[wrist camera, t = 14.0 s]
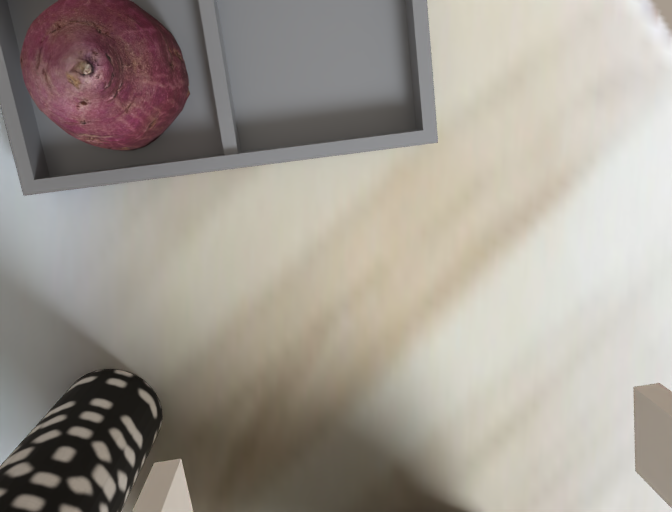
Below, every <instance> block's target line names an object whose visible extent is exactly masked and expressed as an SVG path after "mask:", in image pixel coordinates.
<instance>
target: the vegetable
mask: <svg viewBox="0 0 672 512" xmlns="http://www.w3.org/2000/svg"><path fill="white" fill-rule="evenodd" d="M20 64H21V69H22V74H23V79H24V82H25V86H26V88H27V90H28V92H29V94H30V96H31V98H32V99H33V101H34V102H35V104H36V105H37V107H38V108H39V110H40V111H42V112H43V113H44V114H45V115H46V116H47V117H48V118H49V119H50V120H51V121H53V122H54V123H55V124H56V125H58V126H59V127H60V128H61V129H62V130H64V131H65V132H66V133H68V134H69V135H71V136H73V137H74V138H76V139H78V140H80V141H83V142H85V143H87V144H90V145H93V146H97V147H100V148H105V149H112V150H119V151H128V150H135V149H139V148H143V147H145V146H147V145H149V144H150V143H152V142H153V141H155V140H156V139H157V138H158V137H159V136H160V135H161V134H162V133H164V132H165V130H166V129H167V128H168V127H169V126H170V125H171V124H172V123H173V121H174V120H175V119H176V118H177V116H178V115H179V114H180V113H181V112H182V110H183V108H184V105H185V103H186V101H187V99H188V97H189V95H190V91H189V88H188V87H189V78H188V73H187V70H186V65H185V61H184V59H183V55H182V52H181V49H180V47H179V45H178V43H177V42H176V40H175V38H174V36H173V35H172V34H171V33H170V31H168V30H167V29H166V28H165V27H164V26H163V24H161V23H160V22H159V21H158V20H157V19H155V18H154V17H153V16H151V15H150V14H149V13H147V12H146V11H144V10H143V9H142V8H140V7H139V6H138V5H137V4H135V3H134V2H132V1H130V0H58V1H57V2H56V3H54V4H52V5H51V6H49V7H48V8H47V9H45V10H44V11H43V12H42V13H41V14H40V15H39V16H38V17H37V18H36V19H35V20H34V21H33V22H32V24H31V25H30V27H29V29H28V30H27V33H26V36H25V39H24V42H23V46H22V50H21V55H20Z"/></svg>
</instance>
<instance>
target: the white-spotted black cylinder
mask: <svg viewBox="0 0 672 512" xmlns="http://www.w3.org/2000/svg"><path fill="white" fill-rule="evenodd" d="M161 423H162V409H161V405H160V401H159V399H158V397H157V395H156V393H155V392H154V391H153V389H152V388H151V387H150V386H149V385H148V384H147V383H146V382H145V381H143V380H142V379H141V378H139V377H137V376H135V375H134V374H131V373H128V372H126V371H121V370H116V369H104V370H98V371H94V372H92V373H89V374H86V375H85V376H83V377H82V378H80V379H78V380H77V381H76V382H75V383H74V384H73V385H72V386H71V387H70V389H69V390H68V391H67V392H66V393H65V394H64V395H63V396H62V397H61V399H60V400H59V401H58V402H57V403H56V404H55V405H54V406H53V408H52V409H51V410H50V411H49V412H48V413H47V414H46V415H45V416H44V418H43V419H42V420H41V421H40V422H39V423H38V424H37V425H36V427H35V428H34V429H33V430H32V431H31V432H30V433H29V434H28V435H27V437H26V438H25V439H24V440H23V441H22V442H21V443H20V444H19V446H18V447H17V448H16V449H15V450H14V451H13V452H12V453H11V454H10V456H9V457H8V458H7V459H6V460H5V461H4V462H3V463H2V465H1V466H0V512H121V510H122V508H123V506H124V504H125V502H126V500H127V497H128V495H129V493H130V491H131V489H132V487H133V485H134V483H135V481H136V479H137V476H138V474H139V472H140V470H141V468H142V466H143V464H144V462H145V460H146V458H147V456H148V453H149V451H150V449H151V447H152V445H153V443H154V441H155V439H156V437H157V435H158V432H159V430H160V427H161Z"/></svg>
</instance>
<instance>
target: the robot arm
mask: <svg viewBox="0 0 672 512" xmlns="http://www.w3.org/2000/svg"><path fill="white" fill-rule="evenodd" d="M634 432H635V471H636V472H637V473H638V474H639V475H640V476H641V477H642V478H643V479H644V480H645V481H646V482H647V483H648V484H649V485H650V486H651V487H652V488H653V490H654V491H655V492H656V493H657V494H658V495H659V496H660V497H661V498H662V499H663V500H664V501H665V502H666V503H667V504H668V505H669V506H670V507H671V508H672V392H671V391H670V390H669V389H667V388H666V387H664V386H663V385H662V384H660V383H656V384H650V385H643V386H637V387H634ZM132 512H193V508H192V504H191V499H190V495H189V491H188V486H187V482H186V477H185V473H184V469H183V464H182V460H181V459H174V460H168V461H162V462H155V463H154V464H153V466H152V469H151V471H150V473H149V475H148V478H147V480H146V482H145V484H144V486H143V489H142V491H141V493H140V495H139V497H138V500H137V502H136V504H135V506H134V508H133V511H132Z"/></svg>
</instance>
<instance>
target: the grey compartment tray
mask: <svg viewBox="0 0 672 512" xmlns="http://www.w3.org/2000/svg"><path fill="white" fill-rule="evenodd" d="M57 1H58V0H0V105H1V109H2V113H3V117H4V121H5V125H6V129H7V133H8V137H9V141H10V145H11V148H12V152H13V156H14V160H15V164H16V168H17V172H18V176H19V180H20V184H21V188H22V192H23V195H32V194H40V193H48V192H55V191H63V190H71V189H79V188H87V187H95V186H102V185H110V184H118V183H126V182H134V181H141V180H149V179H157V178H165V177H173V176H181V175H188V174H196V173H204V172H212V171H220V170H227V169H235V168H243V167H251V166H259V165H267V164H274V163H282V162H290V161H298V160H306V159H313V158H321V157H329V156H337V155H345V154H353V153H360V152H368V151H376V150H384V149H392V148H399V147H407V146H415V145H423V144H431V143H438V136H437V123H436V110H435V97H434V85H433V72H432V59H431V46H430V33H429V21H428V8H427V0H130V1H132V2H134V3H135V4H137V5H138V6H139V7H140V8H142V9H143V10H144V11H146V12H147V13H149V14H150V15H151V16H153V17H154V18H155V19H157V20H158V21H159V22H160V23H161V24H163V26H164V27H165V28H166V29H167V30H168V31H170V33H171V34H172V35H173V36H174V38H175V40H176V42H177V43H178V45H179V47H180V49H181V52H182V55H183V59H184V61H185V65H186V70H187V73H188V78H189V87H188V88H189V91H190V95H189V97H188V99H187V101H186V103H185V105H184V108H183V110H182V112H181V113H180V114H179V115H178V116H177V118H176V119H175V120H174V121H173V123H172V124H171V125H170V126H169V127H168V128H167V129H166V130H165V132H164V133H162V134H161V135H160V136H159V137H158V138H157V139H156V140H155V141H153V142H152V143H150V144H149V145H147V146H145V147H143V148H139V149H135V150H128V151H119V150H112V149H105V148H100V147H97V146H93V145H90V144H87V143H85V142H83V141H80V140H78V139H76V138H74V137H73V136H71V135H69V134H68V133H66V132H65V131H64V130H62V129H61V128H60V127H59V126H58V125H56V124H55V123H54V122H53V121H51V120H50V119H49V118H48V117H47V116H46V115H45V114H44V113H43V112H42V111H40V110H39V108H38V107H37V105H36V104H35V102H34V101H33V99H32V98H31V96H30V94H29V92H28V90H27V88H26V86H25V82H24V79H23V74H22V69H21V64H20V55H21V50H22V46H23V42H24V39H25V36H26V33H27V30H28V29H29V27H30V25H31V24H32V22H33V21H34V20H35V19H36V18H37V17H38V16H39V15H40V14H41V13H42V12H43V11H44V10H45V9H47V8H48V7H49V6H51V5H52V4H54V3H56V2H57Z"/></svg>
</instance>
